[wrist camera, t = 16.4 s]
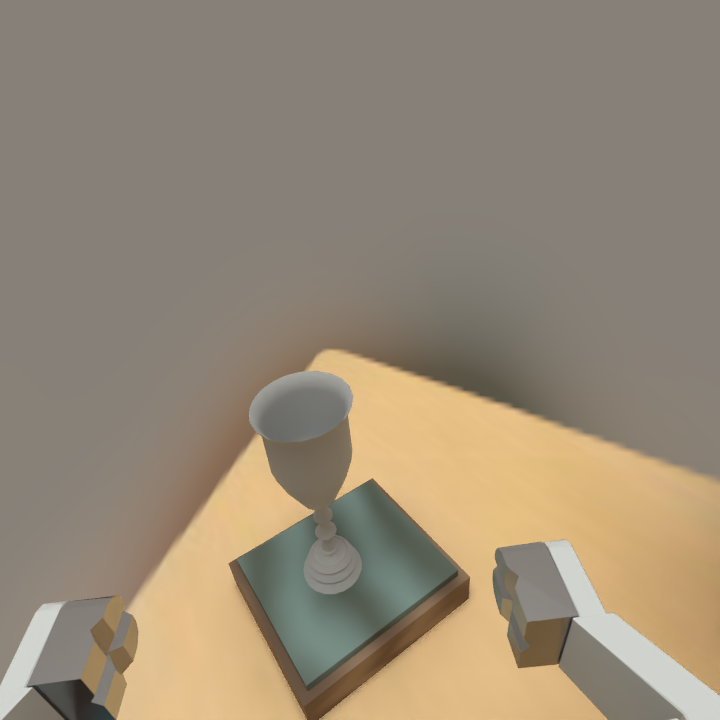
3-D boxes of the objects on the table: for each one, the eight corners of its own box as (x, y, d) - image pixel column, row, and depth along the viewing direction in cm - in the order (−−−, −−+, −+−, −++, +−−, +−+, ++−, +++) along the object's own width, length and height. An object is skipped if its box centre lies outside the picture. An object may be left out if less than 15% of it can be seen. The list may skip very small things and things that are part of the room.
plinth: (374, 498, 53) (371, 473, 51) (468, 598, 43) (470, 571, 41) (236, 583, 46) (226, 558, 44) (310, 725, 36) (302, 701, 34)
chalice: (307, 526, 46) (271, 368, 36) (378, 534, 44) (362, 373, 34) (281, 600, 40) (230, 437, 30) (363, 613, 38) (338, 446, 28)
